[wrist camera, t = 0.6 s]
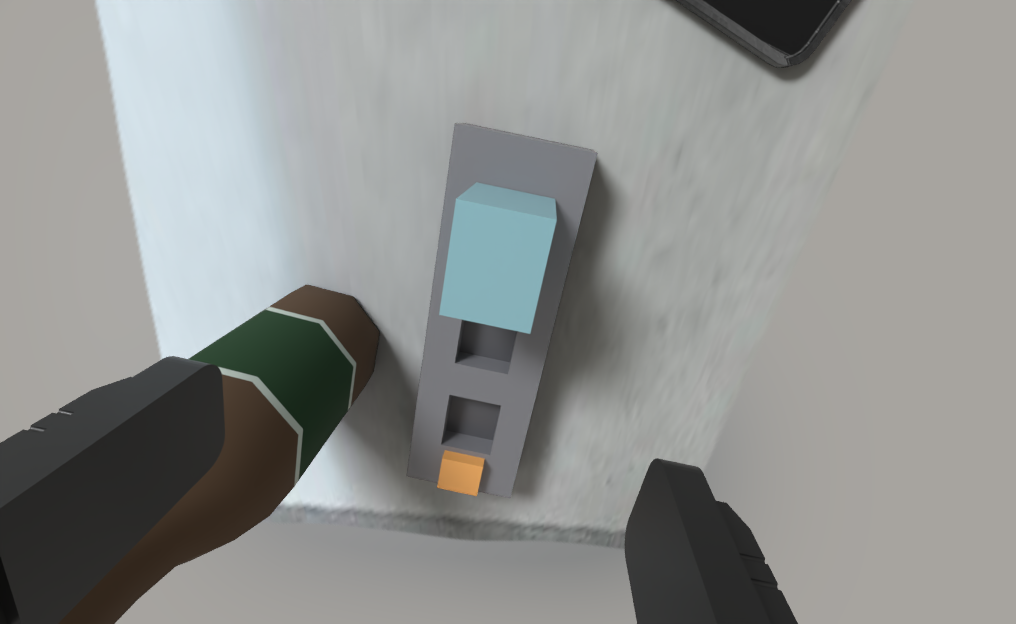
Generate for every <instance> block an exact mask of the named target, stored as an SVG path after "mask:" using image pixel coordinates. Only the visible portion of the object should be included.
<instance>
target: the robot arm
mask: <svg viewBox="0 0 1016 624" xmlns="http://www.w3.org/2000/svg"><path fill="white" fill-rule="evenodd" d="M224 440H225V420H224V400H223V380H222V373H221V370H220V369H219V367H218V366H216V365H213V364H208V363H204V362H199V361H194V360H189V359H184V358H180V357H175V356H170V357H166V358H164V359H162V360H160V361H159V362H157V363H155V364H154V365H152V366H150V367H149V368H147V369H145V370H144V371H142V372H140V373H139V374H137V375H135V376H134V377H129V378H126V379H123V380H120V381H117V382H114V383H111V384H108V385H105V386H102V387H99V388H97V389H94V390H91V391H89V392H88V393H86V394H84V395H83V396H81V397H79V398H77V399H76V400H74V401H72V402H70V403H69V404H67V405H65V406H64V407H62V408H60V409H59V412H58V413H57V414H56V413H51V414H50V415H48V416H46V417H44V418H43V419H41V420H39V421H38V422H36V423H34V424H32V425H31V427H30V429H29V430H28V431H27V430H22V431H20V432H18V433H17V434H15V435H13V436H11V437H10V438H8V439H6V440H5V441H3V442H1V443H0V624H58V623H59V622H60V621H61V620H62V619H63V618H64V617H65V616H66V615H67V614H68V613H69V612H70V611H71V610H72V609H73V608H74V607H75V606H76V605H77V604H78V603H79V602H80V601H81V600H82V599H83V598H84V597H85V596H86V595H87V594H88V593H89V592H90V591H91V590H92V589H93V588H94V587H95V586H96V585H97V584H98V583H99V582H100V581H101V580H102V579H103V578H104V576H105V575H106V574H107V573H108V572H109V571H110V570H111V569H112V568H113V567H114V566H115V565H116V564H117V563H118V562H119V561H120V560H121V559H122V558H123V557H124V556H125V555H126V554H127V553H128V552H129V551H130V550H131V549H132V548H133V547H134V546H135V545H136V544H137V543H138V542H139V541H140V540H141V539H142V538H143V537H144V536H145V535H146V534H147V533H148V532H149V531H150V530H151V529H152V528H153V527H154V526H155V525H156V524H157V523H158V522H159V521H160V520H161V519H162V518H163V517H164V516H165V515H166V514H167V513H168V512H169V511H170V510H171V509H172V508H173V507H174V505H175V504H176V503H177V502H178V501H179V500H180V499H181V498H182V497H183V496H184V495H185V494H186V493H187V492H188V491H189V490H190V489H191V488H192V487H193V486H194V485H195V484H196V483H197V482H198V481H199V480H200V479H201V478H202V477H203V476H204V475H205V474H206V473H207V472H208V471H209V470H210V469H211V468H212V466H213V465H214V464H215V462H216V461H217V459H218V457H219V455H220V453H221V451H222V448H223V445H224ZM625 558H626V564H627V569H628V575H629V580H630V586H631V591H632V596H633V602H634V608H635V612H636V619H637V624H798V623H797V621H796V619H795V617H794V615H793V613H792V611H791V609H790V607H789V605H788V604H787V601H786V599H785V597H784V595H783V593H782V591H780V590H778V588H777V581H776V579H775V577H774V576H773V573H772V571H771V569H770V568H769V566H768V564H765V562H764V561H765V557H764V555H763V554H762V552H761V549H760V548H759V546H758V544H757V542H756V540H755V538H754V536H753V534H752V532H751V530H750V528H749V527H748V526H747V525H746V524H745V523H744V522H743V521H742V520H741V518H740V517H739V516H738V515H737V514H736V513H735V512H734V511H733V510H732V508H730V506H729V505H728V504H727V503H724V502H719V501H715V498H714V496H713V494H712V492H711V489H710V487H709V485H708V483H707V481H706V478H705V476H704V474H703V472H702V470H701V469H700V468H698V467H695V466H691V465H686V464H681V463H676V462H672V461H667V460H662V459H654V460H653V461H652V462H651V464H650V466H649V468H648V471H647V473H646V476H645V478H644V481H643V484H642V486H641V489H640V491H639V494H638V497H637V499H636V502H635V504H634V507H633V510H632V512H631V515H630V517H629V520H628V524H627V528H626V534H625Z"/></svg>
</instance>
